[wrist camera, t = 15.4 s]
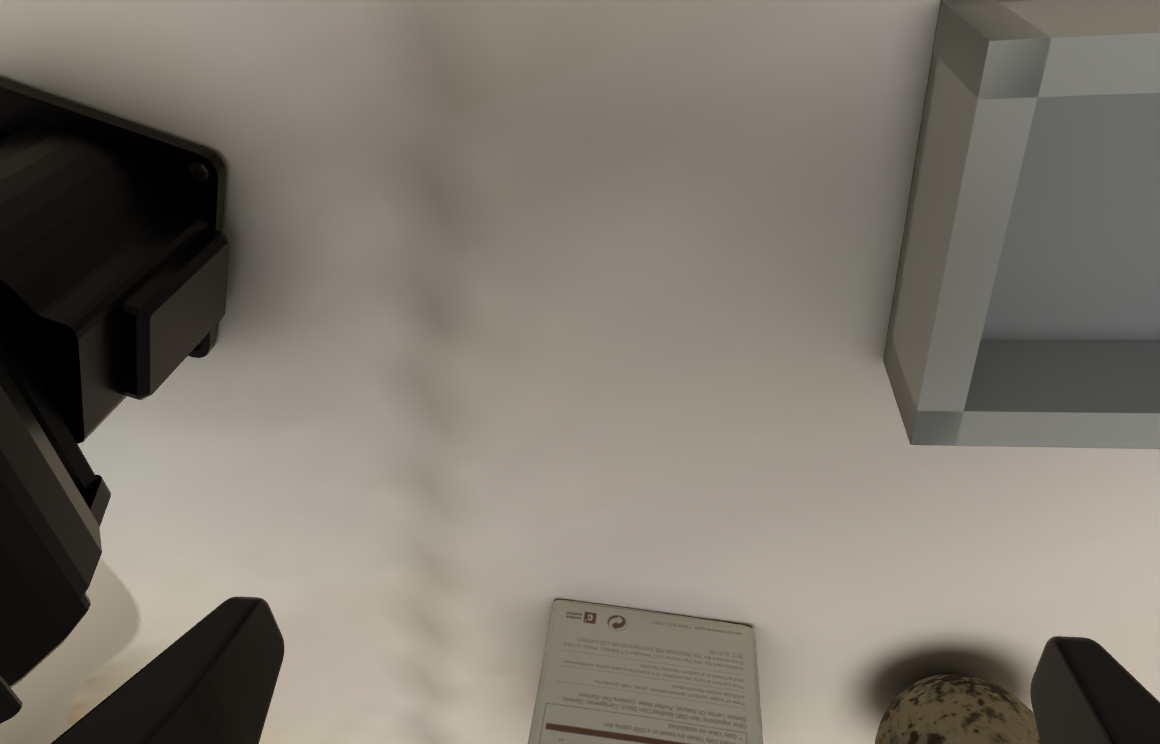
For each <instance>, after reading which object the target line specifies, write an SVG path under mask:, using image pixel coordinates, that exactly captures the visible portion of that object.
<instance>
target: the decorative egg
mask: <svg viewBox="0 0 1160 744" xmlns="http://www.w3.org/2000/svg"><path fill="white" fill-rule="evenodd" d="M875 744H1040V740H1039V736H1038V731H1037V726H1036V722H1035V717H1034V713H1033V712H1032V711H1031V710H1030V709H1029V708H1028V707H1027V706H1026V705H1024V704H1023V703H1022V702H1021V701H1020V700H1018V699H1017V698H1016V697H1014V696H1013V695H1011V694H1010V693H1009V692H1007V691H1006V690H1004V689H1002V688H1000V687H999V686H997V685H994V684H992V683H990V682H988V681H985V680H983V679H980V678H976V677H973V676H968V675H962V674H940V675H934V676H930V677H926V678H924V679H921V680H919V681H917V682H915V683H914V684H912V685H910V686H909V687H907V688H906V689H905V690H903V691H902V692H901V693H900V694H899V695H898V696H897V697H896V698H895V699H894V701H893V702H892V703H891V704H890V706H889V707H888V709H887V711H886V712H885V714H884V716H883V718H882V720H881V723H880V726H879V729H878V732H877V736H876V740H875Z"/></svg>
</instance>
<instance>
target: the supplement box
mask: <svg viewBox="0 0 1160 744" xmlns="http://www.w3.org/2000/svg"><path fill="white" fill-rule="evenodd" d="M528 744H763V736H762V720H761V708H760V696H759V682H758V671H757V658H756V642H755V632H754V629H752V628H750V627H748V626H745V625H740V624H732V623H727V622H721V621H714V620H706V619H699V618H693V617H686V616H679V615H672V614H665V613H658V612H651V611H644V610H637V609H629V608H623V607H615V606H608V605H600V604H593V603H585V602H577V601H569V600H555V601H554V603H553V606H552V610H551V615H550V621H549V626H548V632H547V638H546V644H545V650H544V656H543V662H542V669H541V675H540V680H539V686H538V691H537V696H536V702H535V707H534V712H533V718H532V723H531V729H530V734H529V740H528Z"/></svg>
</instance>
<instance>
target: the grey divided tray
mask: <svg viewBox="0 0 1160 744" xmlns="http://www.w3.org/2000/svg"><path fill="white" fill-rule="evenodd" d="M883 362H884V365H885V368H886V371H887V374H888V377H889V380H890V383H891V386H892V389H893V392H894V396H895V399H896V402H897V405H898V408H899V411H900V414H901V417H902V420H903V423H904V426H905V429H906V433H907V436H908V439H909V442H910V445H952V446H1011V447H1071V448H1130V449H1160V0H941V3H940V9H939V15H938V21H937V28H936V34H935V40H934V46H933V53H932V59H931V65H930V72H929V78H928V84H927V90H926V97H925V103H924V109H923V115H922V122H921V128H920V134H919V141H918V147H917V153H916V159H915V166H914V172H913V178H912V184H911V191H910V197H909V203H908V210H907V216H906V222H905V228H904V235H903V241H902V247H901V253H900V260H899V266H898V272H897V279H896V285H895V291H894V297H893V304H892V310H891V316H890V322H889V329H888V335H887V341H886V348H885V354H884V360H883Z"/></svg>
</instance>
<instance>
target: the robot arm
mask: <svg viewBox="0 0 1160 744" xmlns="http://www.w3.org/2000/svg"><path fill="white" fill-rule="evenodd" d="M197 163H200V164H202V165H203V166H205V168H206V169H207V170H208V174H209V176H206V175H204V174H202V173H201V172H200V171H199V169H198V167H197ZM225 178H226V171H225V165H224V163H223V162H222V160H221V158H220V157H219V156H218V155H217V154H216V153H215V152H213V151H211V150H209V149H207V148H204V147H201V146H198V145H196V144H193V143H190V142H187V141H184V140H181V139H178V138H175V137H172V136H169V135H166V134H163V133H160V132H157V131H154V130H151V129H149V128H146V127H143V126H140V125H137V124H134V123H131V122H128V121H125V120H122V119H119V118H116V117H113V116H110V115H107V114H104V113H102V112H99V111H96V110H93V109H90V108H87V107H84V106H81V105H78V104H75V103H72V102H69V101H66V100H63V99H60V98H57V97H55V96H52V95H49V94H46V93H43V92H40V91H37V90H34V89H31V88H28V87H25V86H22V85H19V84H16V83H13V82H10V81H8V80H5V79H2V78H0V723H2V722H4V721H6V720H8V719H10V718H12V717H13V716H15V715H16V714H17V713H18V712H19V710H20V709H21V707H22V702H21V701H20V699H19V698H18V697H17V696H16V694H15V693H14V692H13V691H12V689H11V687H13V686H14V685H16V684H17V683H18V682H20V681H21V680H22V679H23V678H24V677H26V676H27V675H28V674H29V673H30V672H31V671H32V670H33V669H34V668H35V667H36V666H38V665H39V664H40V663H41V662H42V661H43V660H44V659H45V658H46V657H47V656H49V655H50V654H51V653H52V652H53V651H54V650H55V649H56V648H57V647H59V646H60V645H61V644H62V643H63V642H64V640H65V639H66V638H67V637H68V635H69V634H70V633H71V632H72V630H73V629H74V628H75V627H76V625H77V624H78V623H79V622H80V620H81V619H82V618H83V616H84V615H85V614H86V612H87V611H88V609H89V607H90V600H89V598H88V596H87V595H86V593H85V592H86V590H87V589H88V587H89V585H90V582H91V580H92V577H93V575H94V572H95V569H96V567H97V564H98V561H99V559H100V556H101V553H102V549H101V539H100V530H99V527H100V524H101V522H102V519H103V516H104V513H105V510H106V508H107V505H108V502H109V499H110V497H111V493H110V491H109V489H108V487H107V486H106V484H105V482H104V480H103V479H102V477H101V476H100V475H95V474H94V472H93V471H92V469H91V467H90V465H89V464H88V462H87V460H86V458H85V456H84V455H83V453H82V451H81V449H80V448H79V446H78V444H79V443H81V442H83V441H84V440H85V439H86V438H87V437H88V436H89V435H90V434H91V433H92V432H93V431H94V430H95V429H96V428H97V427H98V426H99V425H100V424H101V423H102V421H103V420H104V419H105V418H106V417H107V416H108V415H109V414H110V413H111V412H112V411H113V410H114V409H115V408H116V407H117V406H118V405H119V404H120V403H121V402H122V401H123V400H124V398H125V397H126V396H129V397H132V398H135V399H139V400H142V399H144V398H146V397H148V396H150V395H152V394H153V393H154V392H155V391H156V390H157V388H158V387H159V386H160V385H161V384H162V383H163V382H164V381H165V380H166V379H167V378H168V376H169V375H170V374H171V373H172V372H173V371H174V370H175V369H176V368H177V367H178V366H179V364H180V363H181V362H182V361H183V360H184V359H185V358H186V357H187V356H191V357H196V358H200V357H204V356H206V355H207V354H208V353H209V352H210V351H211V349H212V348H213V347H214V346H215V343H216V333H217V323H218V322H219V321H220V320H221V319H222V317H223V316H224V314H225V306H226V290H227V275H228V259H229V241H228V239H227V237H226V235H225V234H224V233H223V232H222V230H223V213H224V195H225ZM77 443H78V444H77ZM283 656H284V641H283V637H282V635H281V632H280V630H279V628H278V625H277V623H276V621H275V619H274V616H273V614H272V612H271V609H270V607H269V605H268V603H267V602H266V601H265V600H264V599H262V598H257V597H232V598H230V599H228V600H226V601H224V602H223V603H222V604H221V605H219V606H218V607H217V608H216V609H214V610H213V611H212V612H211V613H210V614H208V615H207V616H206V617H205V618H203V619H202V620H201V621H200V622H199V623H197V624H196V625H195V626H194V627H193V628H191V629H190V630H189V631H188V632H186V633H185V634H184V635H183V636H182V637H180V638H179V639H178V640H177V641H175V642H174V643H173V644H172V645H171V646H169V647H168V648H167V649H166V650H164V651H163V652H162V653H161V654H160V655H158V656H157V657H156V658H155V659H153V660H152V661H151V662H150V663H149V664H147V665H146V666H145V667H144V668H143V669H141V670H140V671H139V672H138V673H136V674H135V675H134V676H133V677H132V678H130V679H129V680H128V681H127V682H125V683H124V684H123V685H122V686H121V687H119V688H118V689H117V690H116V691H114V692H113V693H112V694H111V695H110V696H108V697H107V698H106V699H105V700H104V701H102V702H101V703H100V704H99V705H97V706H96V707H95V708H94V709H93V710H91V711H90V712H89V713H88V714H86V715H85V716H84V717H83V718H82V719H80V720H79V721H78V722H77V723H75V724H74V725H73V726H72V727H71V728H69V729H68V730H67V731H66V732H64V733H63V734H62V735H61V736H60V737H58V738H57V739H56V740H55V741H54V742H52V743H51V744H259V741H260V737H261V734H262V730H263V727H264V723H265V720H266V716H267V713H268V709H269V706H270V702H271V699H272V696H273V692H274V689H275V685H276V682H277V678H278V675H279V671H280V668H281V664H282V661H283ZM1031 703H1032V708H1033V713H1034V717H1035V722H1036V726H1037V731H1038V736H1039V740H1040V744H1160V702H1159V701H1158V700H1157V699H1156V698H1155V697H1154V696H1153V695H1152V694H1151V693H1150V692H1149V691H1148V690H1146V689H1145V688H1144V687H1143V686H1142V685H1141V684H1140V683H1139V682H1138V681H1137V680H1136V679H1135V678H1134V677H1133V676H1132V675H1131V674H1130V673H1129V672H1128V671H1127V670H1126V669H1125V668H1124V667H1123V666H1122V665H1121V664H1119V663H1118V662H1117V661H1116V660H1115V659H1114V658H1113V657H1112V656H1111V655H1110V654H1109V653H1108V652H1107V651H1106V650H1105V649H1104V648H1103V647H1102V646H1101V645H1100V644H1098V643H1097V642H1095V641H1093V640H1091V639H1088V638H1081V637H1061V636H1056V637H1052V638H1051V639H1049V640H1048V641H1047V643H1046V645H1045V648H1044V650H1043V653H1042V655H1041V658H1040V660H1039V663H1038V666H1037V668H1036V671H1035V673H1034V676H1033V679H1032V682H1031Z"/></svg>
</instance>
